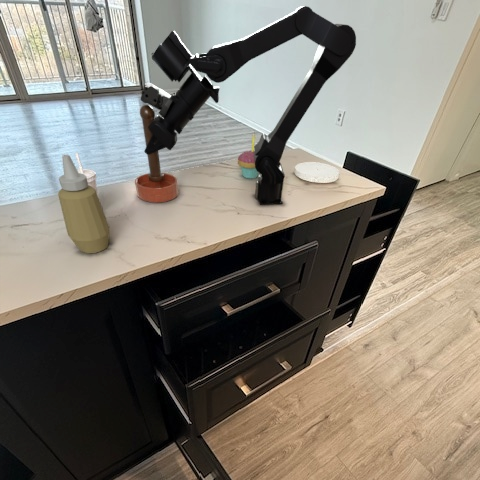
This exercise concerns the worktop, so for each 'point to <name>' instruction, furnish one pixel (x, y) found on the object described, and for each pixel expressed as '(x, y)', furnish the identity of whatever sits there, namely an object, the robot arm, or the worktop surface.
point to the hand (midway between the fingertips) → (147, 151)
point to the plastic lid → (316, 172)
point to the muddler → (153, 158)
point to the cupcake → (248, 162)
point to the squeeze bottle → (82, 210)
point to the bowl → (157, 188)
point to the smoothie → (87, 174)
